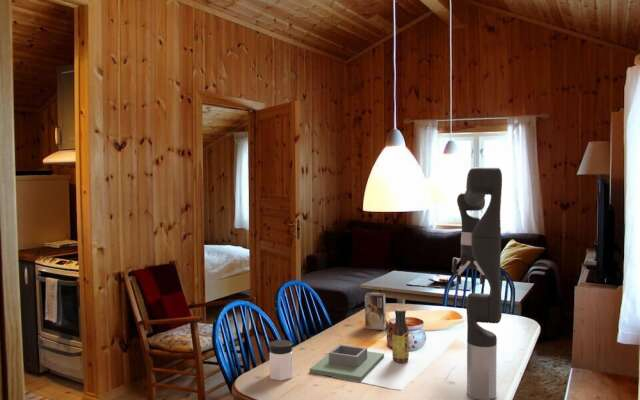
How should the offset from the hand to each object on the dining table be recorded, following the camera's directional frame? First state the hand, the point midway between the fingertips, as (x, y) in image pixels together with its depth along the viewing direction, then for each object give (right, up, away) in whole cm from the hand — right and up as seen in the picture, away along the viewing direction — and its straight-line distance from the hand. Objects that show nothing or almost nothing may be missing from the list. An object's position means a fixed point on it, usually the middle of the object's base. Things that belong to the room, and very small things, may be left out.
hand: (470, 284), depth 210 cm
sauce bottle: (-28, -29, -5) cm, 41 cm away
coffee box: (-33, -27, +39) cm, 58 cm away
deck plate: (-49, -29, -8) cm, 58 cm away
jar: (-74, -30, -19) cm, 82 cm away
